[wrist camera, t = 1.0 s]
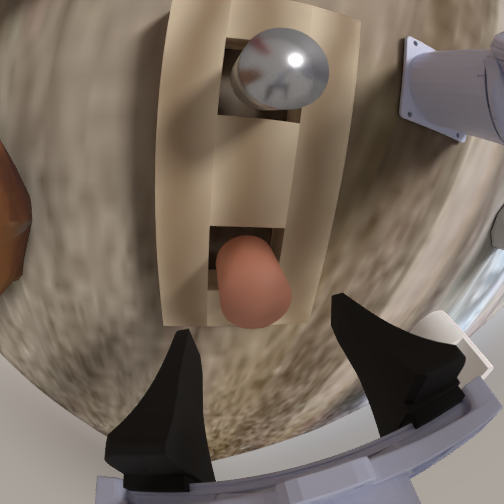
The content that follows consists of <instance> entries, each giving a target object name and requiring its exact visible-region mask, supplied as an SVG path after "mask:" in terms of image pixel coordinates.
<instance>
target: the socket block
mask: <svg viewBox="0 0 504 504" xmlns="http://www.w3.org/2000/svg"><path fill="white" fill-rule="evenodd" d="M360 25H361V21H359V20H356V19H353V18H351V17H348V16H345V15H342V14H339V13H336V12H332V11H329V10H326V9H322V8H319V7H315V6H311V5H308V4H303V3H299V2H295V1H290V0H172V5H171V10H170V16H169V21H168V27H167V33H166V40H165V47H164V54H163V62H162V70H161V79H160V89H159V101H158V114H157V131H156V156H155V218H156V244H157V261H158V275H159V287H160V298H161V308H162V317H163V326H236V325H234V324H232V323H231V322H229V321H228V320H227V319H226V318H225V316H224V315H223V313H222V310H221V304H220V296H219V288H218V279H217V270H216V269H208V256H209V231H210V226H233V227H265V228H272V235H271V242H270V247H271V249H272V251H273V253H274V255H275V257H276V259H277V261H278V263H279V265H280V267H281V269H282V271H283V273H284V275H285V277H286V279H287V281H288V283H289V285H290V288H291V291H292V301H291V304H290V307H289V309H288V310H287V312H286V313H285V314H284V315H283V316H282V317H281V318H280V319H279V320H278V321H276V322H274V323H273V324H291V323H306V322H308V321H309V317H310V314H311V310H312V306H313V303H314V299H315V295H316V292H317V288H318V284H319V280H320V276H321V272H322V268H323V264H324V260H325V256H326V252H327V248H328V243H329V239H330V234H331V230H332V225H333V221H334V216H335V211H336V206H337V202H338V196H339V191H340V186H341V181H342V175H343V170H344V164H345V158H346V152H347V146H348V139H349V133H350V126H351V119H352V111H353V104H354V95H355V87H356V77H357V67H358V55H359V42H360ZM279 27H281V28H291V29H295V30H298V31H301V32H303V33H305V34H307V35H308V36H310V37H311V38H312V39H313V40H315V41H316V42H317V43H318V44H319V46H320V47H321V48H322V50H323V51H324V53H325V55H326V58H327V60H328V65H329V79H328V83H327V86H326V88H325V90H324V92H323V93H322V95H321V96H320V97H319V98H318V99H317V100H315V101H314V102H313V103H311V104H309V105H307V106H305V107H302V108H298V109H288V112H287V120H286V122H285V121H278V120H270V119H261V118H251V117H240V116H227V115H217V114H218V103H219V94H220V84H221V75H222V66H223V58H224V50H225V49H235V50H243V49H244V48H245V46H246V45H247V43H248V42H249V41H250V40H251V39H252V38H253V37H254V36H255V35H257V34H258V33H260V32H262V31H265V30H267V29H271V28H279ZM273 324H271V325H273Z"/></svg>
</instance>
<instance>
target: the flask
mask: <svg viewBox="0 0 504 504" xmlns="http://www.w3.org/2000/svg"><path fill="white" fill-rule="evenodd" d="M491 238H492V246H493V247H496V248H498V249H502V250H504V206H503V208H502V209H501V210H500V212H499V213H498V215H497V218H496V220H495V223H494V226H493V229H492V231H491Z"/></svg>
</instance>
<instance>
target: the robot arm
mask: <svg viewBox="0 0 504 504" xmlns="http://www.w3.org/2000/svg"><path fill="white" fill-rule="evenodd" d="M413 42H414V43H415V45H414V43H413ZM490 47H491V50H489V49H469V50H447V51H436V50H434V49H432V48H431V47H429V46H427V45H425V44H424V43H422V42H420V41H418V40H416V39H415V38H413V37H411V36H408V37H405V44H404V64H403V78H402V89H401V98H400V107H399V115H400V116H401V117H402V118H404V119H407V120H409V121H412V122H415V123H417V124H420V125H422V126H425V127H427V128H430V129H432V130H435V131H437V132H439V133H442V134H444V135H446V136H448V137H451V138H453V139H455V140H457V141H459V142H462V143H464V142H465V140H466V134H468V135H471V136H475V137H479V138H482V139H486V140H489V141H492V142H495V143H499V144H502V145H504V32H501V33H499V34H497V35H496V36H495V37H494V39H493V41H492V42H491V45H490ZM408 112H409V116H408ZM456 134H457V136H456ZM331 326H332V329H333V331H334V334H335V336H336V338H337V341H338V342H339V344H340V346H341V348H342V349H343V351H344V353H345V354H346V356H347V358H348V360H349V361H350V363H351V365H352V366H353V368H354V370H355V372H356V373H357V375H358V377H359V379H360V382H361V384H362V386H363V389H364V391H365V393H366V396H367V399H368V401H369V404H370V406H371V409H372V412H373V415H374V418H375V421H376V424H377V428H378V431H379V434H380V438H379V439H377V440H374V441H372V442H370V443H367V444H365V445H362V446H360V447H357V448H355V449H352V450H349V451H347V452H344V453H341V454H338V455H335V456H332V457H329V458H326V459H323V460H320V461H316V462H313V463H310V464H306V465H303V466H299V467H295V468H291V469H287V470H283V471H279V472H274V473H269V474H264V475H259V476H253V477H247V478H241V479H234V480H226V481H217V482H216V480H215V477H214V472H213V468H212V464H211V459H210V454H209V449H208V444H207V438H206V432H205V425H204V418H203V374H202V365H201V358H200V354H199V352H198V349H197V347H196V345H195V342H194V340H193V338H192V335H191V333H190V331H189V329H185V330H180V331H177V332H176V333H175V336H174V339H173V341H172V344H171V346H170V348H169V351H168V353H167V355H166V357H165V360H164V362H163V364H162V366H161V368H160V370H159V372H158V374H157V376H156V377H155V379H154V381H153V383H152V384H151V386H150V388H149V389H148V391H147V392H146V394H145V395H144V397H143V398H142V399H141V401H140V402H139V403H138V405H137V406H136V407H135V408H134V410H133V411H132V412H131V413H130V414H129V415H128V416H127V417H126V418H125V419H124V421H122V422H121V423H120V424H119V425H118V426H117V427H116V428H115V429H114V430H113V431H112V432H110V433H109V434H108V436H107V441H106V448H105V458H104V459H105V461H106V462H107V463H108V464H109V465H110V466H112V467H113V468H115V469H117V470H118V471H120V472H121V473H123V474H124V480H123V479H120V478H116V477H106V476H97V482H96V499H95V500H96V501H95V504H421V502H420V500H419V498H418V496H417V494H416V491H415V489H414V487H413V485H412V483H411V481H410V478H412V477H414V476H416V475H418V474H419V473H421V472H423V471H424V470H426V469H428V468H429V467H431V466H432V465H434V464H435V463H437V462H438V461H440V460H442V459H443V458H445V457H446V456H447V455H449V454H450V453H452V452H453V451H454V450H456V449H457V448H459V447H460V446H461V445H463V444H464V443H465V442H467V441H468V440H469V439H471V438H472V437H473V436H475V435H476V434H477V433H478V432H480V431H481V430H482V429H483V428H484V427H485V426H486V425H487V424H488V423H489V422H490V421H491V420H492V419H493V418H494V417H495V416H496V415H497V414H498V412H499V411H500V410H501V409H502V405H501V404H500V402H499V401H498V399H497V398H496V397H495V395H494V394H493V393H492V391H491V390H490V388H489V387H488V386H487V384H486V383H485V382H484V380H483V379H482V378H481V376H478V377H476V378H475V379H473V380H472V381H471V382H469V383H468V384H466V385H465V386H464V387H463V388H462V389H460V387H459V386H458V385H459V384H460V381H459V380H458V378H457V377H458V375H459V374H460V372H461V370H462V369H463V367H464V365H465V362H466V357H465V355H464V354H463V353H462V352H461V350H460V349H459V348H458V347H457V346H456V345H453V344H448V343H442V342H437V341H433V340H430V339H426V338H423V337H420V336H417V335H414V334H412V333H409V332H407V331H404V330H402V329H400V328H398V327H396V326H394V325H392V324H390V323H388V322H386V321H385V320H383V319H381V318H379V317H378V316H376V315H374V314H373V313H371V312H370V311H368V310H367V309H365V308H364V307H362V306H361V305H359V304H358V303H357V302H355V301H354V300H352V299H351V298H350V297H348V296H347V295H345V294H344V293H340V294H336V295H333V296H332V305H331Z"/></svg>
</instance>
